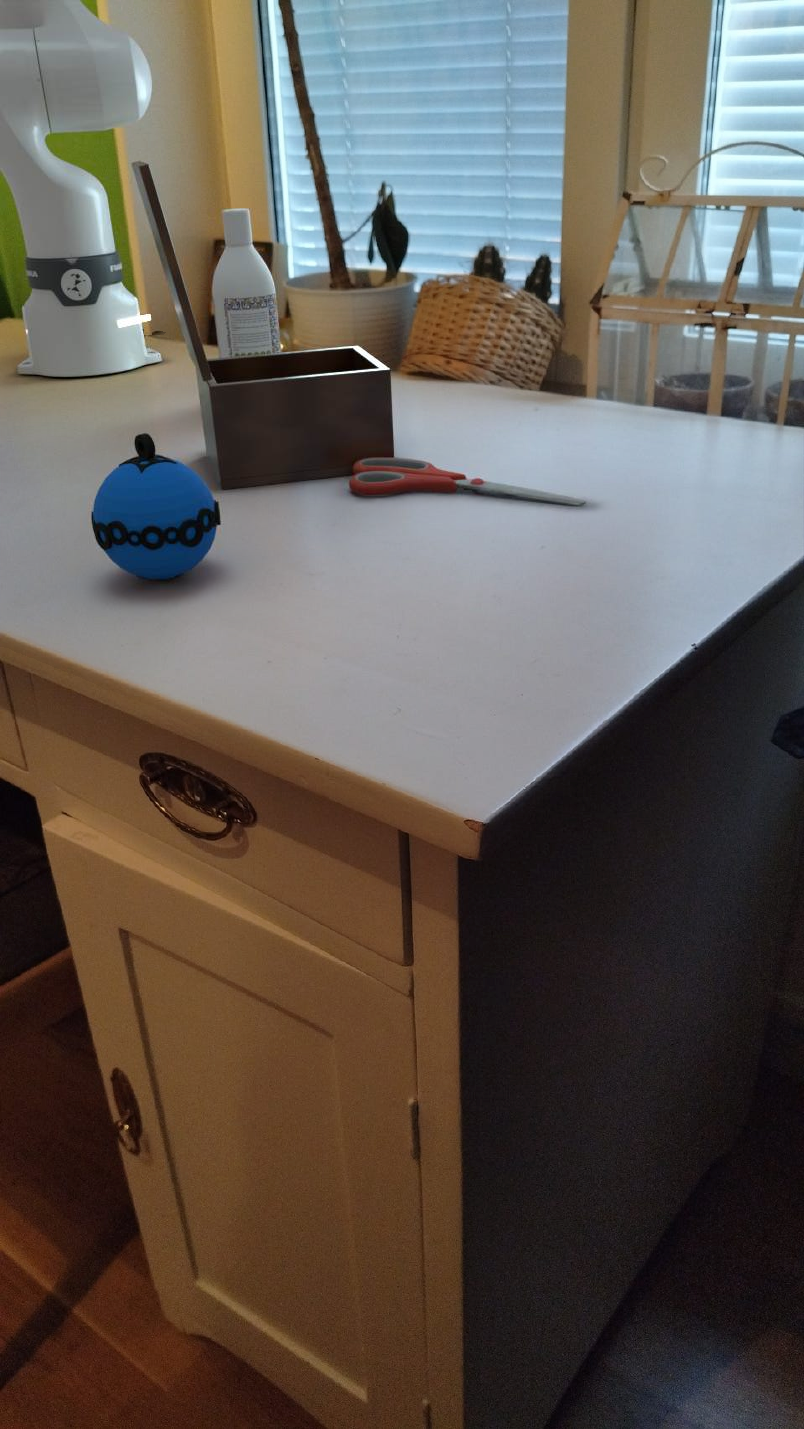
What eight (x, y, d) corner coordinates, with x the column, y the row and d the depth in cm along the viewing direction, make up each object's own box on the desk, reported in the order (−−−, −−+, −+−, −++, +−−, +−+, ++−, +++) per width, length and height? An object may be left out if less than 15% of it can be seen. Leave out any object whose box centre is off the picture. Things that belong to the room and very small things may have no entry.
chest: (363, 437, 109) (358, 345, 105) (395, 470, 99) (390, 369, 94) (206, 454, 106) (194, 360, 102) (221, 490, 95) (208, 386, 91)
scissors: (584, 507, 87) (585, 489, 86) (334, 496, 92) (332, 479, 92) (596, 479, 93) (597, 462, 93) (361, 471, 99) (360, 454, 98)
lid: (140, 160, 94) (131, 163, 94) (148, 163, 83) (138, 166, 83) (198, 354, 102) (189, 356, 102) (212, 379, 91) (203, 382, 91)
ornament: (79, 579, 77) (52, 438, 73) (181, 547, 83) (161, 412, 78) (146, 610, 72) (122, 459, 67) (251, 573, 77) (235, 430, 72)
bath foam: (297, 399, 126) (280, 207, 116) (245, 410, 122) (224, 213, 113) (264, 391, 131) (245, 206, 121) (213, 401, 127) (190, 211, 117)
